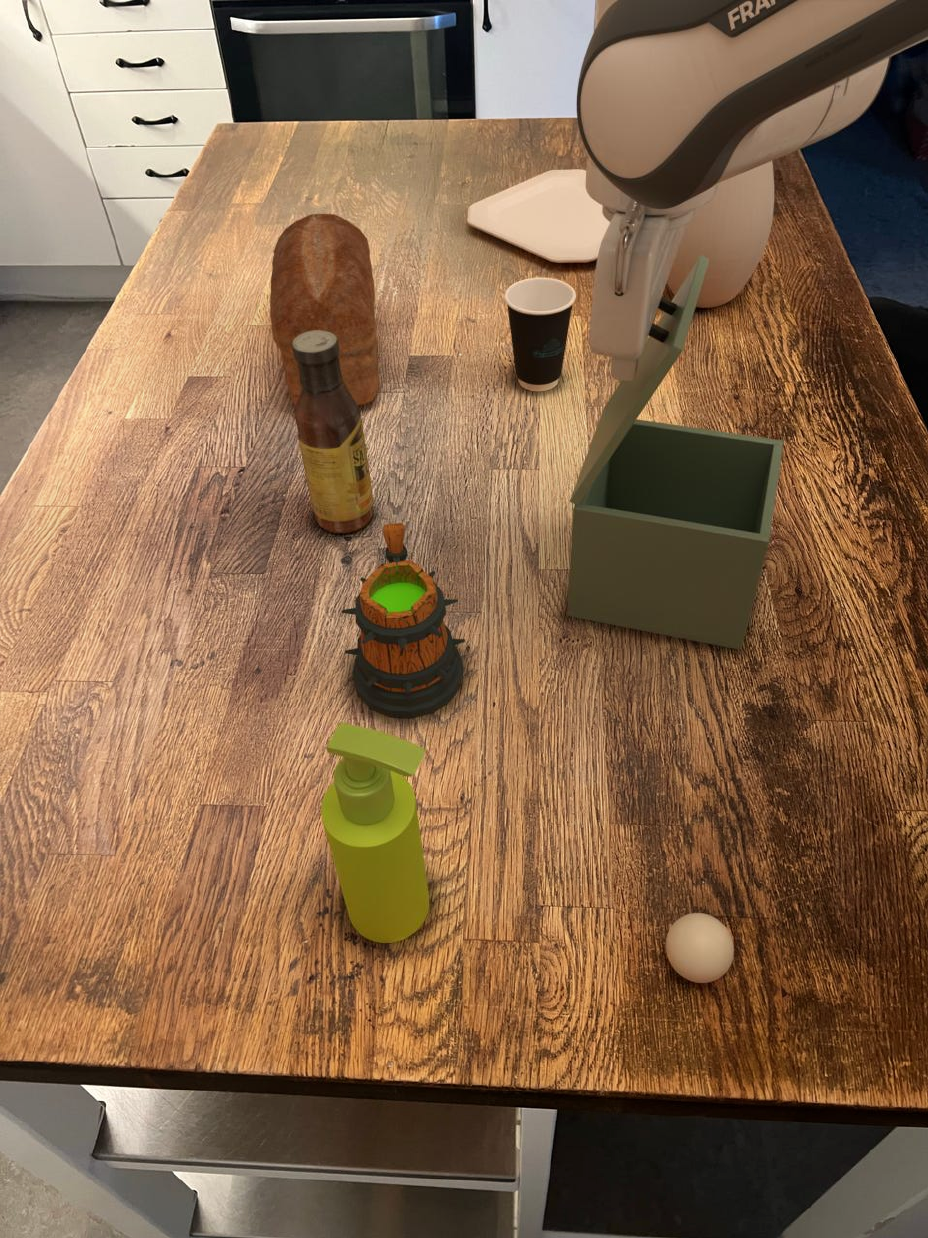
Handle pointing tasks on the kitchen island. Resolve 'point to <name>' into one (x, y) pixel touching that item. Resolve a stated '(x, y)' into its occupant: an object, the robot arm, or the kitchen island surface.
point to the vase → (728, 236)
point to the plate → (545, 217)
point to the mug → (403, 637)
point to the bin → (676, 533)
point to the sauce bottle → (331, 437)
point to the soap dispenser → (376, 832)
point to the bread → (326, 298)
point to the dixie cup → (539, 329)
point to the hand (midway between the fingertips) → (634, 347)
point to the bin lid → (642, 377)
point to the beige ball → (699, 948)
